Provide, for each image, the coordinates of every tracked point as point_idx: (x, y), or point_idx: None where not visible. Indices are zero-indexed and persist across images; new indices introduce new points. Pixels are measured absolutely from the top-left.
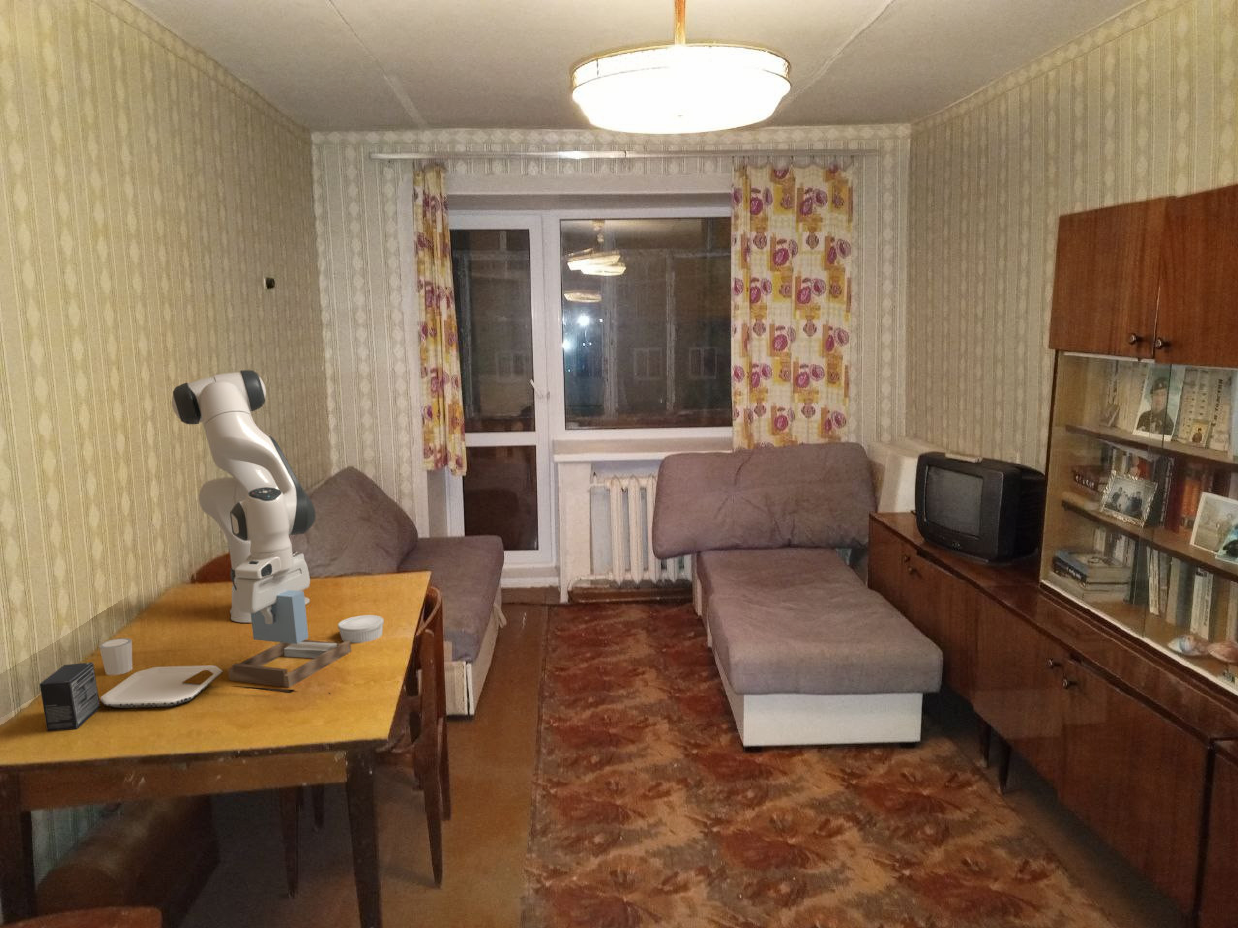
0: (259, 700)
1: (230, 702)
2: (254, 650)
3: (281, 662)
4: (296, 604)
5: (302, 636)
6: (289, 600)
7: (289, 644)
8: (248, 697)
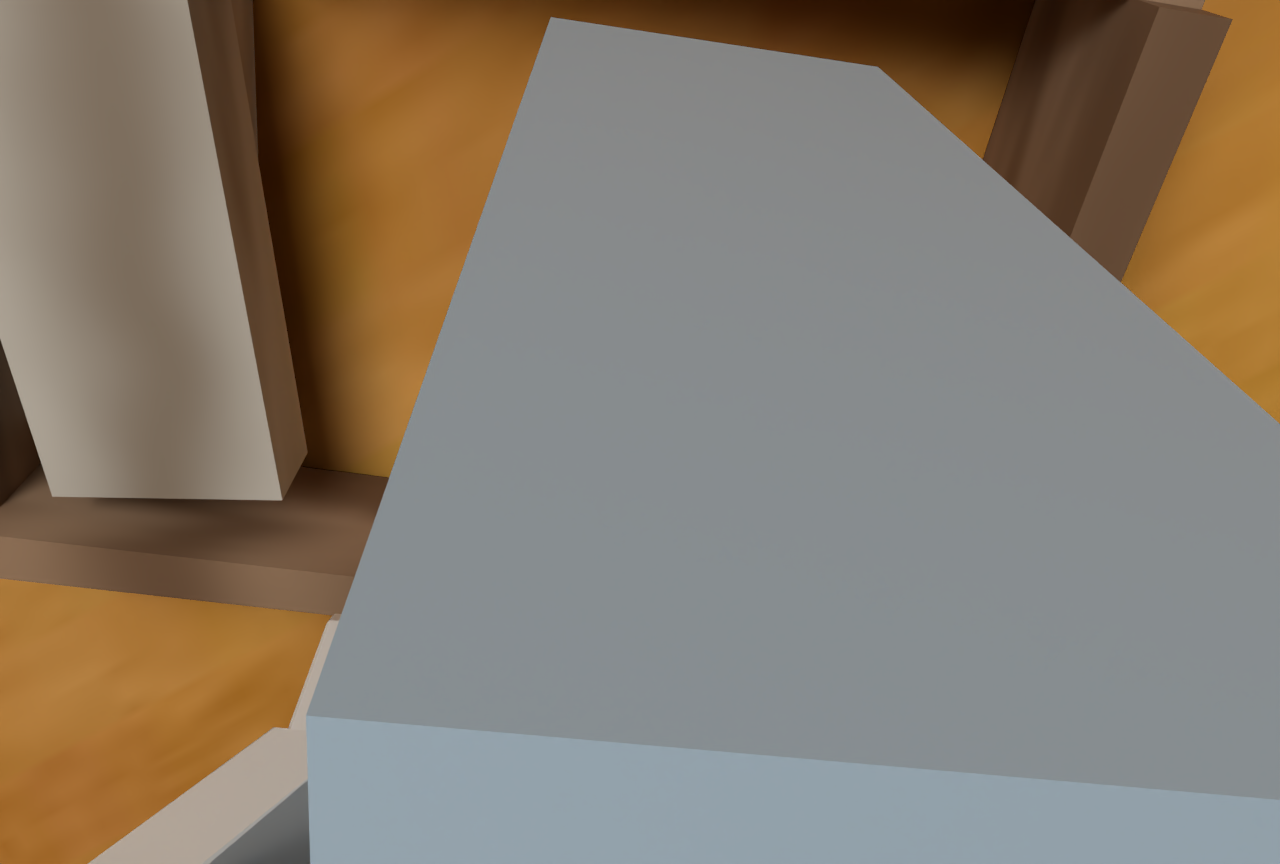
0: (1268, 155)
1: (1260, 392)
2: (167, 768)
3: (333, 454)
4: (1069, 411)
5: (721, 56)
6: None
7: (124, 522)
8: (1169, 301)
